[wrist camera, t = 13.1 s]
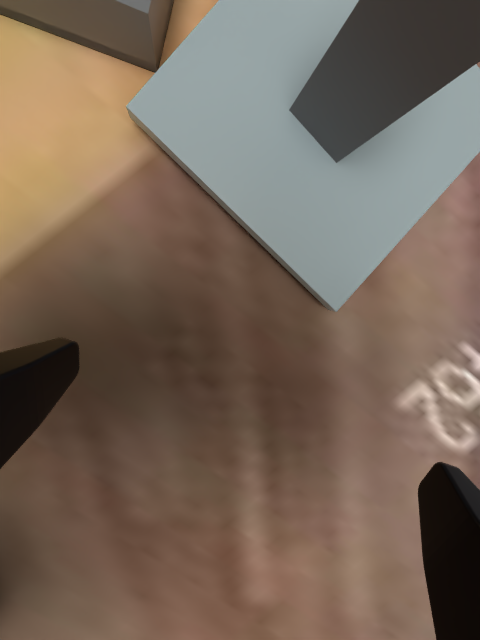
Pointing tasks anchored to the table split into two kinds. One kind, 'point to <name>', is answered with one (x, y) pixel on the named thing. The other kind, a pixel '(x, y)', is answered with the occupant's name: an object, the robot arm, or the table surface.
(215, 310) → the table surface
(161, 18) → the storage box
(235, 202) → the slate lid
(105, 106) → the table surface
